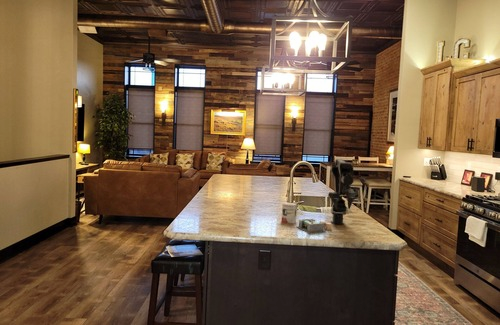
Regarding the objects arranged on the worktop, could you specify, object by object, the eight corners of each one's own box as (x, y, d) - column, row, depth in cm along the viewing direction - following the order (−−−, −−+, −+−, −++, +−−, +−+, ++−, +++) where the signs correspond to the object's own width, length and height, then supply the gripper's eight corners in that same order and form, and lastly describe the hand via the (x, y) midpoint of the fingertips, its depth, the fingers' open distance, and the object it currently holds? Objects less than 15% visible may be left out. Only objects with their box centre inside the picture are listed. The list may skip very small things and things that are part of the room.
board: (302, 223, 223) (303, 219, 223) (311, 222, 225) (311, 218, 225) (311, 226, 215) (311, 222, 214) (319, 226, 217) (320, 221, 217)
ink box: (281, 221, 237) (281, 203, 237) (283, 220, 242) (284, 202, 241) (294, 223, 234) (295, 204, 233) (296, 221, 239) (297, 203, 238)
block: (319, 226, 229) (319, 220, 228) (323, 226, 230) (323, 220, 230) (327, 229, 221) (327, 224, 221) (331, 229, 223) (331, 223, 222)
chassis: (296, 227, 224) (297, 219, 224) (312, 226, 229) (312, 218, 228) (309, 233, 212) (310, 224, 211) (325, 232, 216) (326, 223, 216)
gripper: (340, 185, 212) (338, 212, 214) (365, 184, 220) (364, 211, 221) (328, 182, 223) (326, 208, 224) (353, 182, 230) (351, 207, 231)
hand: (342, 209), depth 225 cm, fingers open, 9 cm apart
